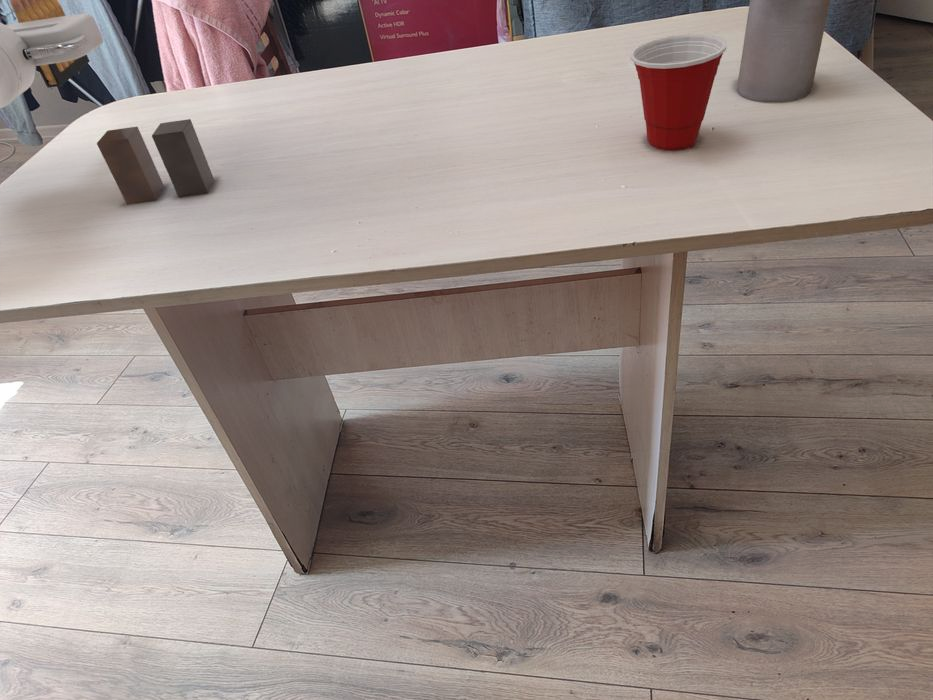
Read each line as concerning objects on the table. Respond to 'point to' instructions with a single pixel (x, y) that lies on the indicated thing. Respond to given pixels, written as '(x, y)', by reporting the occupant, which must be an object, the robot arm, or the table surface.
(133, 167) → the walnut block
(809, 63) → the pillar candle
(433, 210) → the table surface
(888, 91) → the table surface
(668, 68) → the plastic cup
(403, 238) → the table surface
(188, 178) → the dark gray block
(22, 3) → the ammunition clip
